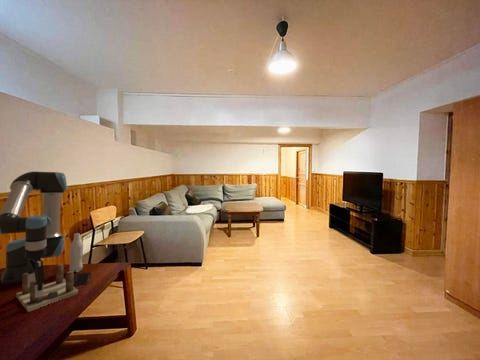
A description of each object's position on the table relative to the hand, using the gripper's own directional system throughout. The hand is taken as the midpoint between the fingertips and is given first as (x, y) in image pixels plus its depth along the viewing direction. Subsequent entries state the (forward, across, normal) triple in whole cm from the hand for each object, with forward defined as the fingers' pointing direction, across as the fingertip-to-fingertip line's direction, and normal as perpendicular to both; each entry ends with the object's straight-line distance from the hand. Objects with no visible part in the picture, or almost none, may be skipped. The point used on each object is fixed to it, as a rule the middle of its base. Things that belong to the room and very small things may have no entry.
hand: (35, 291), depth 107 cm
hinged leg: (+5, 0, +3) cm, 6 cm away
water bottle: (+8, -28, +26) cm, 39 cm away
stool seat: (+7, -6, +7) cm, 12 cm away
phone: (+8, -13, +24) cm, 29 cm away
